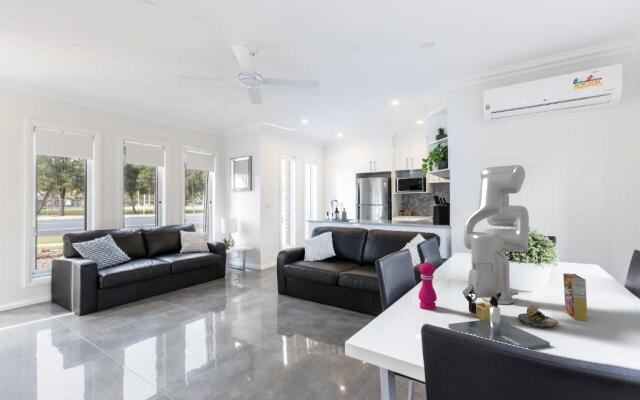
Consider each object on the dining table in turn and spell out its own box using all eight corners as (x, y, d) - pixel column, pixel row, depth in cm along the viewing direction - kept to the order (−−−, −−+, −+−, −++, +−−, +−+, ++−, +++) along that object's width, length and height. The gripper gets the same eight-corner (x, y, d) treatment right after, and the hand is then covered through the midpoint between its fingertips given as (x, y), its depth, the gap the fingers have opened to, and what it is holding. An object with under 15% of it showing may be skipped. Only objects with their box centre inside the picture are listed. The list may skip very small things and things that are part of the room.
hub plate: (496, 321, 110) (495, 296, 110) (549, 346, 91) (549, 315, 91) (448, 327, 105) (447, 301, 106) (494, 355, 86) (493, 322, 86)
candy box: (563, 311, 119) (562, 272, 119) (577, 313, 117) (576, 273, 118) (573, 320, 111) (571, 278, 111) (587, 321, 109) (586, 279, 109)
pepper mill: (438, 310, 122) (437, 261, 122) (419, 309, 123) (418, 260, 124) (435, 305, 129) (434, 258, 129) (417, 304, 130) (416, 257, 131)
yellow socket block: (484, 311, 120) (484, 300, 120) (497, 317, 114) (497, 305, 114) (470, 313, 118) (469, 301, 118) (482, 319, 112) (482, 307, 112)
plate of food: (545, 333, 101) (544, 310, 101) (510, 320, 111) (510, 300, 112) (566, 326, 105) (565, 305, 106) (531, 315, 116) (530, 296, 116)
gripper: (493, 263, 122) (494, 306, 121) (456, 265, 118) (457, 310, 117) (509, 267, 115) (510, 312, 114) (470, 269, 111) (471, 317, 110)
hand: (483, 311), depth 116 cm, fingers open, 9 cm apart
